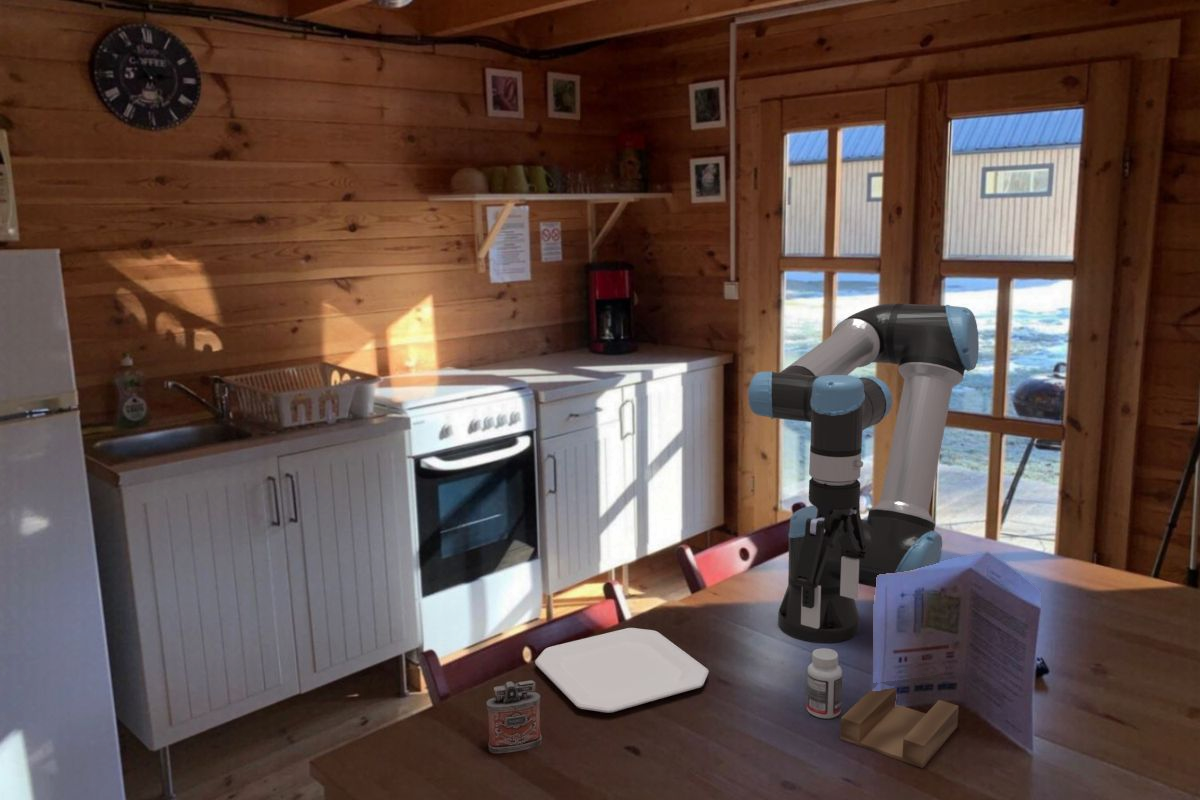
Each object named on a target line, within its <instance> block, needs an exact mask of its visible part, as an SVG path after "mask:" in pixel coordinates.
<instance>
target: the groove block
mask: <svg viewBox="0 0 1200 800" xmlns="http://www.w3.org/2000/svg"><path fill="white" fill-rule="evenodd" d="M896 691H897V688H894V689H893V688H892V689H884V690H881V691H875V692H874V691H872V688H870V689H869V690H868V691H867V693H865V694H864V695H863V696H862V697H861V698H860V699H859V700H858V701H857V702H856V703H855V704H853V706H851V708H849V710H847V712H845V713H844V714H843V715H842V716H841V717H840V733H839V735H840V736H839V738H840V740H842V741H845V742H847V743H850V744H854V745H856V746H859V747H862V748H865V749H868V750H871V751H873V752H876V753H878V754H881V755H885V756H887V757H890V758H892V759H895V760H898V761H901V762H903V763H906V764H910V765H913V766H914V767H918V768H920V769H924V767H925V766H926V765H927V764H928V763H929V761H931V759H932V758H933V757H934V755H935V754H936V753H937V752H938V751H939V749H940V748H941V747H942V746H943V745H944V744H945V743H946V741H947V740H948V739H949V737H951V736H952V734H953V733H954V731H955V730H956V729H957V728H958V724H959V721H958V720H959V709H960V707H959V705H957V704H954V703H951V702H948V701H944V700H941V699H939V700H937V702H935V704H934V705H933V706H932V707H930V709H929V710H928V711H927V713H925V712H923V711H922V712H921V711H919V710H916V709H912V708H909V707H906V706H903V705H901V706H900V704H898V705H899V706H896V707H895V701H896V693H897V694H898V692H896Z"/></svg>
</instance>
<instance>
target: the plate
mask: <svg viewBox="0 0 1200 800" xmlns="http://www.w3.org/2000/svg"><path fill="white" fill-rule="evenodd" d="M534 663H535V666H537V667H538V669H539V670H540V671H541V672H542V673H544V675H545V676H546V677H547V678H548V679H549V680H550V681H551V682H552V683H553V684H554V685H555V686H556V687H557V688H558V689H559V691H561V692H562V693H563V694H564V695H565V696H566V697H567V698H568V699H569V700H570V701H571V703H573V705H575V706H576V708H578V709H581V710H588V711H595V712H600V713H615V712H618V711H621V710H625V709H628V708H632V707H636V706H639V705H640V706H641V705H643V704H646V703H649V702H654V701H657V700H659V699H660V700H662V699H664V698H667V697H670V696H674V695H675V696H676V695H678V694H681V693H685V692H688V691H692V690H696V689H699V688H702V687H703V686H704V685H705V681H706V680H707V677H708V675H709V672H710V671H709V669H708V668H707V667H705V666H704V665H703V664H702V663H700V662H699V661H697V660H696V659H695V658H693V657H692V656H691V655H690V654H688V653H687V652H685V651H684V650H683V649H681V648H680V647H679V646H677V645H676V644H674V643H673V641H670V640H669V639H668V638H667V637H666V636H664V635H663V634H662V633H660V632H658V631H656V630H653V629H644V628H638V627H637V628H636V627H627V628H624V629H623V628H622V629H618V630H614V631H610V632H606V633H603V634H598V635H593V636H589V637H586V638H580V639H577V640H572V641H569V642H565V643H561V644H556V645H552V646H549V647H546V648H545V649H544V650H543V651H542V652H541V653H540V654H539V655H538V657H537V658H536V659H535V661H534Z"/></svg>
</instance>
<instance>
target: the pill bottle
mask: <svg viewBox="0 0 1200 800" xmlns="http://www.w3.org/2000/svg"><path fill="white" fill-rule="evenodd" d="M806 672H807V675H806V676H807V677H806V710H807V712H808V713H809V714H811V716H814V717H816V718H820V719H827V720H828V719H834V718H836V717H837V716H840V714H841V712H842V703H843V702H842V698H843V697H842V695H843V694H842V693H843V670H842V667H841V666H840V665H839V654H838V652H837V651H835V650H834V649H831V648H826V647H821V648H816V649H814V650H813V651H812V654H811V663H810V664H809V665H808V666H807V670H806Z"/></svg>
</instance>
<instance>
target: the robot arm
mask: <svg viewBox="0 0 1200 800" xmlns="http://www.w3.org/2000/svg"><path fill="white" fill-rule="evenodd" d="M978 330H979V329H978V324H977V320H976V317H975V314H974V313H973V311H972V310H971V309H970V308H968V307H965V306H955V305H949V304H945V305H943V304H942V305H940V304H939V305H938V304H919V303H918V304H916V303H915V304H913V303H912V304H911V303H899V302H898V303H897V302H890V303H882V304H879V305H874V306H872V307H869V308H866V309H863V310H860V311H858V312H856V313H854V314H851V315H850V316H848V317H846V318H845V319H843V320H842V321H840V322H839V323H838V324H836V326H835V327H834V328H833V330H832V332H831V335H830V336H829V337H827V338H826V339H824V340H823V341H821V342H819V344H817V345H816V346H815V347H813V348H812V349H810V350H809V351H807V352H806V353H805V354H804V355H802V356H800V357H799V358H797V359H796V360H795V361H794V362H792V363H791V364H790V365H788V366H787V367H785V368H784V369H783V370H781V371H779V372H776V371H774V370H773V371H771V370H770V371H759V372H757V373H755V375H753V377H752V378H751V381H750V383H749V386H748V393H747V395H748V397H747V399H748V406H749V408H750V410H751V412H752V413H753V414H754V415H756V416H761V417H765V418H766V417H767V418H770V419H778V420H785V421H795V422H805V423H810V447H809V463H808V464H809V466H808V468H809V470H808V475H809V476H810V479H809V480H808V502H809V504H811V505H808V506H805V507H802V508H800V509H797V510H796V511H794V512H793V514H792V515H791V516H790V520H789V521H790V522H789V529H788V530H789V532H788V534H787V536H788V577H787V578H788V580H787V587H786V590H785V593H784V594H783V598H782V601H781V604H780V606H779V609H778V614H777V624H778V627H779V628H780V629H781V631H783V632H784V633H786V634H787V635H789V636H791V637H794V638H796V639H799V640H803V641H807V642H814V643H836V642H837V643H838V642H839V643H840V642H843V641H847V640H851V639H852V638H854V637H855V636H856V635H857V634H859V632H860V624H861V623H860V622H861V621H860V613H859V610H858V607H857V603H856V601H855V600H857V599H858V598H859V585H862V586H867V587H872V588H876V577H877V575H879V574H886V573H897V572H904V571H910V570H914V569H917V568H921V567H925V566H929V565H933V564H936V563H939V564H940V561H941V558H942V548H943V537H942V535H941V534H940V533H939V532H938V531H936V530H935V528H936V522H935V521H934V519H933V517H932V516H931V514H930V511H929V510H930V505H931V502H932V501H931V500H932V496H933V489H934V486H935V481H936V480H935V479H936V474H937V470H938V465H939V460H940V459H939V458H940V454H941V449H942V445H943V440H944V438H943V437H944V434H945V428H946V422H947V418H948V413H949V412H948V411H949V407H950V403H951V402H950V401H951V398H952V397H951V396H952V393H953V388H954V387H956V386H957V385H959V384H960V383H962V382H963V379H964V376H965V375H964V374H965V372H966V371H967V372H970V371H973V370H975V369H976V367H977V364H978V361H979V360H978V359H979V347H980V345H979V343H980V342H979V331H978ZM871 363H872V364H873V363H876V364H877V363H878V364H879V363H880V364H881V363H882V364H893V365H898V368H897V371H898V372H899V374H900V376H902V378H903V379H904V381H903V386H902V390H901V395H900V401H899V405H898V410H897V415H896V421H895V424H894V425H895V426H894V430H893V434H892V439H891V446H890V450H889V455H888V460H887V465H886V470H885V474H884V480H883V483H882V484H883V485H882V489H881V495H880V499H879V502H878V503H876V505H874V506H872V507H870V508H869V510H868V514H867V519H862V518H861V513H860V510H861V508H860V507H861V506H860V501H861V482H860V480H859V479H860V477H861V469H862V467H864V461H862V452H863V451H862V450H863V449H862V447H863V445H862V444H863V431H864V430H866V429H868V428H871V427H872V426H875V425H878V424H880V422H882V420H883V419H884V418H886V417H887V415H889V413H890V411H891V409H892V405H893V395H892V392H891V389H890V387H889V386H888V385H887V383H885V382H884V381H883V380H881V379H880V378H877V377H874V376H866V377H865V376H861V377H857V376H854V375H850V374H851V373H853V371H854V370H856V369H857V368H864V367H867V366H869V365H870V364H871Z"/></svg>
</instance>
